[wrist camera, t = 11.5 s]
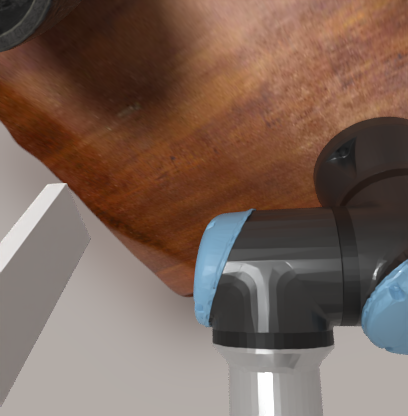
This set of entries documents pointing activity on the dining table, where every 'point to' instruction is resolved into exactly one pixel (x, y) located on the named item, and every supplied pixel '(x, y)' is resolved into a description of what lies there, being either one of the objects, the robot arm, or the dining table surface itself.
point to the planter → (29, 19)
